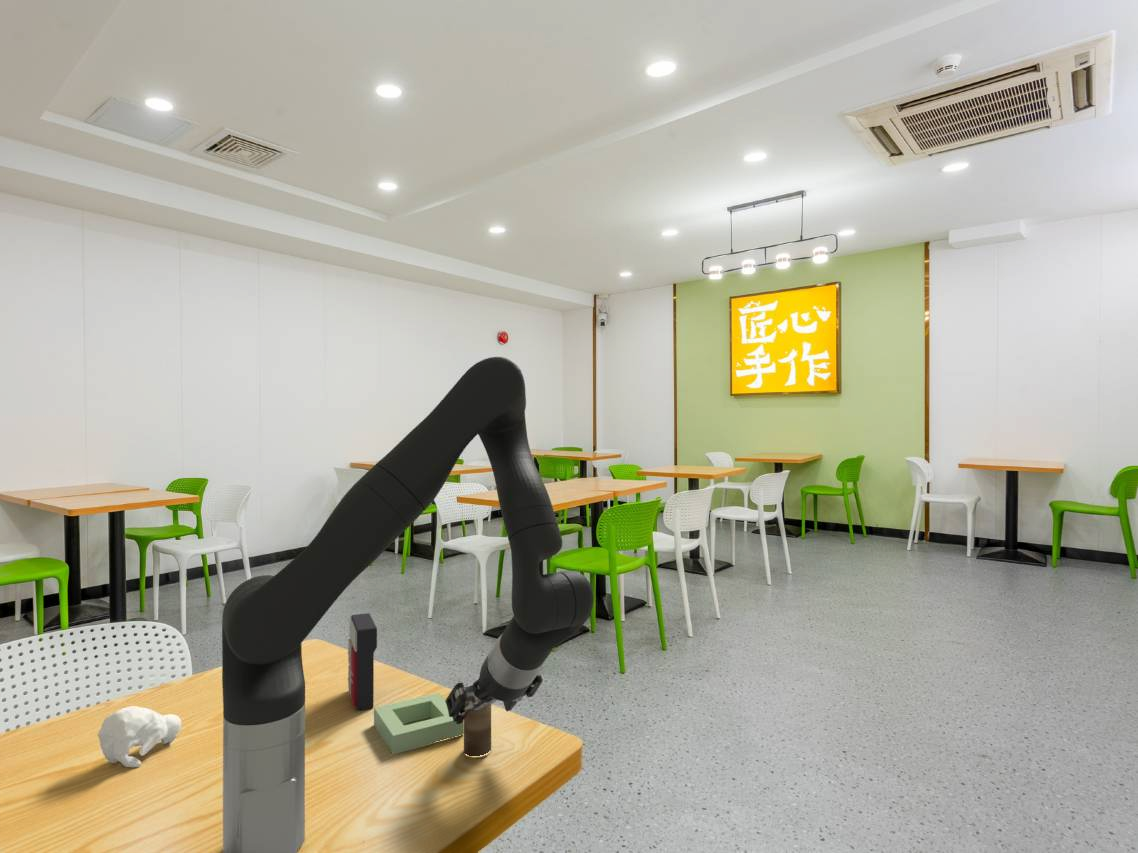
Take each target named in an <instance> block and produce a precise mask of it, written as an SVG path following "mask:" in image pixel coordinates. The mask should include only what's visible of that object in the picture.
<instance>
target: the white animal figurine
mask: <svg viewBox="0 0 1138 853" xmlns="http://www.w3.org/2000/svg"><path fill="white" fill-rule="evenodd" d="M181 729H182V720H181V718H180V717H179V716H178V715H176V714H172V713H171V714H165V715H163V714H160V713H159V712H157V711H154V710H153V709H149V708H147V707H141V706H136V705H131V706H126V707H123V708H120V709H118V710H117V711H115V712H113V713H112V714H110V715H108V716H107V717H105V718H104V720H103V722H102V724H101V727H100V729H99V731H98V732H97V737H98V739H99V743H100V748H101V752H102V754H103V756H104V758H105V760H107V761H108V762H110V763H111V764H116V763H118V762H119V763H121V765H123V766H124V767H126V768H139V767H140V766H142V762H141V760H140V759H138V758H137V757H135V756H132V755H129V754H130V750H131V749H132V748H133V747H140V746H141V748H140V749H139V755H141V756H144V755H146V754H147V753H148V752H149V751H150V750H151V749H153V748H154V747H155V746H156V745H157V743H159V742H160V741H161V743H162V744H163V745H167V744H168V743H169V744H170V743H171V744H173V742H175V739H176V738H177V735H178V734H179V732H180V731H181Z"/></svg>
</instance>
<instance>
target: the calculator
mask: <svg viewBox="0 0 1138 853" xmlns="http://www.w3.org/2000/svg"><path fill="white" fill-rule="evenodd" d="M347 645H348V648H347V649H348V651H347V655H348V656H347V657H348V661H347V662H348V667H347V669H348V671H347V672H348V676H347V681H348V682H347V685H348V687H347V688H348V692H349V695H350V699H351V704H352V706H353V708H356V711H363V710H369V709H372V708H373V709H374V705H375V704H374V693H375V692H374V688H375V686H374V685H375V684H374V682H375V681H374V679H375V678H374V675H375V674H374V671H375V670H374V667H375V666H374V664H375V663H374V662H375V661H374V660H375V658H374V655H375V654H374V653H375V652H376V649H377V647H378V628H377V625H376V624H375V622H374V619H373V617H372V616H371V614H370V612H366V613H359V614H352V615H351V616H350V618H349V638H348V644H347Z"/></svg>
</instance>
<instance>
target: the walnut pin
mask: <svg viewBox="0 0 1138 853" xmlns="http://www.w3.org/2000/svg"><path fill="white" fill-rule="evenodd" d="M476 698H477V697H476ZM467 700H468V699H467ZM480 701H481V700H480V699H478V698H477V702H478V703H479V702H480ZM465 705H466V707H467V706H468V705H469V701H468V702H467V703H465ZM490 750H491V751H492V703H489V704H487V705H486V706H484V707H483V708H481V709H479V710H478V711H476V710H472V711H470V712H469V713H467V715H466V717H465V718H464V736H463V754H464V753H465V754H467V755H469V756H480V755H484V754H486V753H488V752H489V751H490ZM465 754H464V755H465Z"/></svg>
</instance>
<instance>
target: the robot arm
mask: <svg viewBox="0 0 1138 853" xmlns="http://www.w3.org/2000/svg"><path fill="white" fill-rule="evenodd" d="M526 397H527V396H526V382H525V378H524V375H523V373H522V370H521V367H519V366H518V364H517V363H516V362H515V361H513V360H512V359H510V358H507V357H503V356H493V357H492V356H491V357H488V358H485V359H484V358H483V359H482V360H480V361H477V362H476V363H475V364H473V365H472V366H471V367H469V368H468V369H467V370H466V371H465V372H464V373H463V375H461V377H460V378H458V380H457V382H456V383H455V384H454V385H453V387H452V388H451V389H450V390H449V391H448V392H447V393H446V394H445V396H444V397H443V398H442V399H441V400H440V402H439V403H438V404H437V405H436V406H435V407H434V408H433V409H432V410H431V411H430V413H429V414H428V415H427V416H426V417H425V418H423V420H422V421H420V422H419V423H418V424H417V425H416V426H415V427H414V428H413V429H412V430H410V432H409V433H408V434H407V435H405V436H404V437H403V438H402V440H401V441H399V442H398V443H397V444H396V445H395V446H394V447H393V448H392V449H391V450H390V451H389V452H388V453H387V454H385V455H384V456H383V457H382V458H381V459H380V460H379V461H377V463H376V462H375V464H374V465H373V466H372V467H371V468H370V469H369V470H368V471H367V472H365V474H364V475H362V476H361V477H360V478H359V479H358V480H357V481H356V482H355V483H354V485H352V486H351V487H350V488H349V490H347V492H346V493H345V494H344V496H343V497H342V498H341V499H340V500H339V502H338V503H337V505H336V506H335V507H334V509H333V510H332V512H331V514H329V516H328V518H327V519H326V521H325V522H324V523H323V526H321V529H320V530H318V533H317V534H316V535H315V537H314V538H313V539H312V540H311V541H310V543H309V544H308V545H307V546H306V547H305V548H304V549H303V550H302V551H301V552H300V553H299V554H298V555H297V556H296V557H295V558H294V559H292V560H291V561H290V562H289V563H288V564H286V565H285V566H284V567H283V568H282V569H281V570H279V571H278V572H277V573H276V574H275V575H270V574H265V575H258V576H254V577H251V578H249V579H247V580H245V581H243V582H242V583H240V584H239V585H238V586H237V587H235V589H234V590H233V591H232V592H231V593H230V594H229V596H228V598H227V599H226V601H225V602H224V603H225V604H224V607H223V610H222V619H221V620H222V621H221V627H222V628H221V648H222V649H221V653H222V654H221V656H222V657H221V658H222V661H221V662H222V666H221V668H222V669H221V670H222V674H221V675H222V676H221V678H222V679H221V681H222V682H221V683H222V709H223V710H222V711H223V715H222V716H223V718H222V719H223V720H222V724H223V726H222V729H223V730H222V732H223V734H222V737H223V738H222V853H298V851H299V850H300V849H301V847H302V845H303V843H304V842H305V838H306V837H305V836H306V802H305V800H306V798H305V796H306V779H305V778H306V679H305V673H304V667H303V654H302V652H303V651H302V643H303V641H304V640H305V639H306V638H307V637H308V636H309V634H311V633H312V631H313V629H314V628H315V627H316V625H317V624H318V623H319V622H320V621H321V620H322V618H323V617H324V616H325V614H326V613H327V612H328V611H329V609H330V608H331V607H332V606H333V604H335V602H336V601H337V599H338V598H339V597H340V596H341V594H342V593H343V592H344V591H345V590H346V589H347V588H348V587H349V586H350V585H351V584H352V582H354V580H356V578H358V577H359V576H360V575H361V574H362V573H363V572H364V571H365V570H367V568H368V567H369V566H370V565H371V564H373V562H374V561H375V560H377V559H378V557H380V556H381V554H383V553H384V552H385V550H387V549H388V548H389V547H390V545H392V543H393V542H394V541H396V540H397V539H398V538H399V537H400V536H401V535H402V534H403V533H404V532H405V531H406V530H407V529H408V528H410V526H411V525H412V524H413V523H414V522H416V520H417V519H418V518H419V517H420V516H421V515H422V514H423V513H424V512H425V511H426V510H427V509H428V508H429V506H430V505H431V504H432V503H433V501H434V500H435V499H436V498H437V496H438V495H439V493H440V491H441V490H442V488H443V487H444V485H445V484H446V481H447V480H448V479H449V476H450V475H451V472H452V471H453V469H454V467H455V466H456V464H457V462H458V460H459V458H460V456H461V455H462V453H463V452H464V451H465V449H466V448H467V446H468V445H469V444H470V443H471V442H472V440H473V439H475V437H477V436H478V437H479V439H480V441H481V443H482V445H483V447H484V450H485V452H486V455H487V457H488V461H489V463H490V466H491V470H492V473H493V477H494V482H495V486H496V487H495V488H496V494H497V499H498V503H499V508H500V512H501V518H502V520H503V526H504V529H505V531H506V535H507V539H508V543H509V547H510V555H511V573H512V574H511V576H512V577H511V609H512V610H511V611H512V613H513V616H512V618H511V619H510V620H509V622H508V623H507V625H506V627H505V629H504V630H503V632H502V633H501V635H500V636H499V637H497V639H496V640H495V642H494V644H493V645H492V648H491V649H490V651H489V653H488V655H487V656H486V657H485V659H484V661H483V662H482V664H481V667H480V672H479V676H478V679H477V680H475V681H473V683H472V684H471V685H469V686H465V685H464V683H463V682H458V683H455V685H454V686H453V688H452V690H451V691H450V693H449V694H448V695H447V697H446V698H445V699H446V700H445V702H446V705H447V708H448V712H449V713H448V714H449V717H453V721H454V722H456V724H461V723H462V722H463V720H464V718H465V717H466V715H467V713H469V712H470V711H472V710H476V711H478V710H479V709H481V708H483V707H484V706H486V705H487V704H489V703H491V704H493V703H496V702H497V701H500V702H502V703H503V706H504V710H505V712H509V711H512V709H513V708H514V707H515V706H517V704H518V702H521V701H523V699H524V697H525V696H527V698H532V697H534V695H535V694H536V693H537V691H538V690H539V687H540V686H541V684H542V683H543V681H544V679H543V677H542V675H541V672H540V671H541V669H542V667H543V665H544V663H545V661H546V660H547V659H548V657H549V655H551V653H552V651H553V649H554V648H556V647H557V646H559V645H560V644H562V643H563V642H565V641H566V640H567V639H569V638H570V637H571V636H572V635H574V634H575V633H576V632H577V631H578V630H580V629H581V628H582V627H583V626H584V624H586V622H587V621H588V620H589V618H590V616H591V614H592V610H593V607H594V601H595V600H594V598H595V597H594V590H593V587H592V585H591V584H592V583H591V582H590V581H589V579H588V578H587V577H586V576H585V575H584V574H582V573H580V572H578V571H576V570H565V571H564V570H563V571H557V572H550V573H544V574H541V572H540V562H543V561H545V560H548V559H550V558H551V557H554V556H556V555H557V554H558V553H559V552H560V551H561V549H562V547H563V538H562V534H561V530H560V527H559V523H558V521H557V517H556V514H555V511H554V510H555V509H554V507H553V504H552V501H551V499H550V495H549V492H548V489H547V487H546V485H545V483H544V481H543V478H542V477H541V474H540V472H539V470H538V469H537V466H536V463H535V461H534V459H533V455H532V451H531V449H530V444H529V438H528V431H527V423H526V407H527V398H526ZM476 697H477V698H478V699H480V700H481V701H480V702H479V703H478V702H477V698H476ZM467 699H468V700H467ZM468 701H469V705H468V706H467V707H466V705H465V703H467V702H468Z"/></svg>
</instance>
